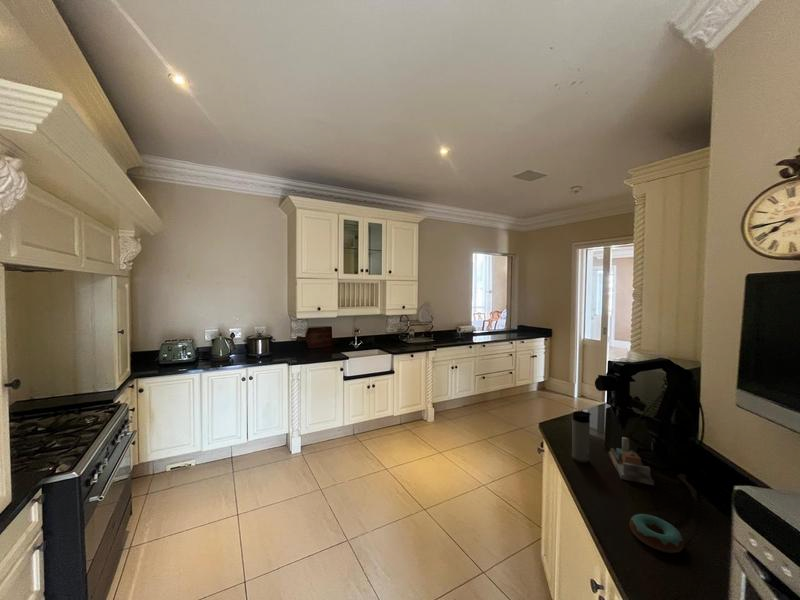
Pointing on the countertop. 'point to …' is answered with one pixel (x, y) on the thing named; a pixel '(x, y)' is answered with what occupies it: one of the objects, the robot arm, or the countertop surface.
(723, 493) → the countertop surface
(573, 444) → the travel mug
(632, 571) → the countertop surface
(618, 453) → the ram
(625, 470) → the frame
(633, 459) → the box
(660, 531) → the donut
